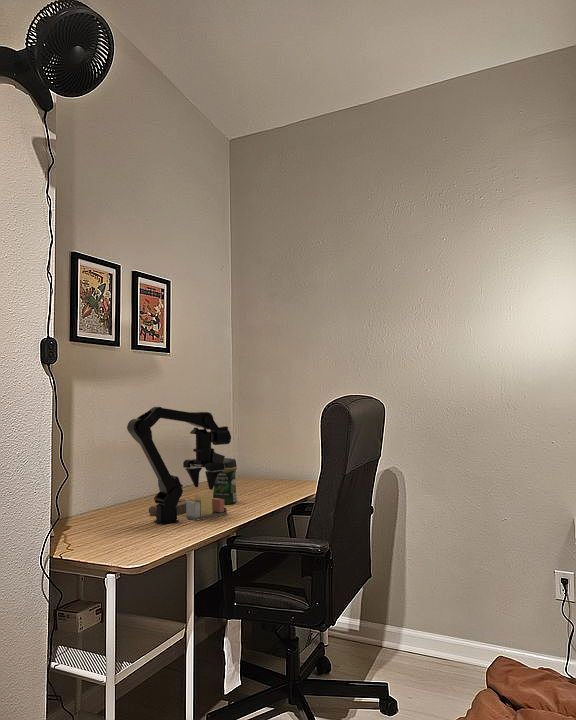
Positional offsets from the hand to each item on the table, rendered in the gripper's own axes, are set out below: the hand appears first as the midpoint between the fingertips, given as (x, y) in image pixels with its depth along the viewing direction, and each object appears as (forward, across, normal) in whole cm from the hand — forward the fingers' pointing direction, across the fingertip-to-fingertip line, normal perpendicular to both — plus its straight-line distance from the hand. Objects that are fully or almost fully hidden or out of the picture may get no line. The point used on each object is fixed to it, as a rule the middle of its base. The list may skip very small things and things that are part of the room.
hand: (203, 488), depth 222 cm
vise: (+10, 0, -1) cm, 10 cm away
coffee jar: (+11, +18, -23) cm, 31 cm away
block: (+9, 0, 0) cm, 9 cm away
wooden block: (+8, +20, -5) cm, 23 cm away
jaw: (+9, 0, -6) cm, 11 cm away
